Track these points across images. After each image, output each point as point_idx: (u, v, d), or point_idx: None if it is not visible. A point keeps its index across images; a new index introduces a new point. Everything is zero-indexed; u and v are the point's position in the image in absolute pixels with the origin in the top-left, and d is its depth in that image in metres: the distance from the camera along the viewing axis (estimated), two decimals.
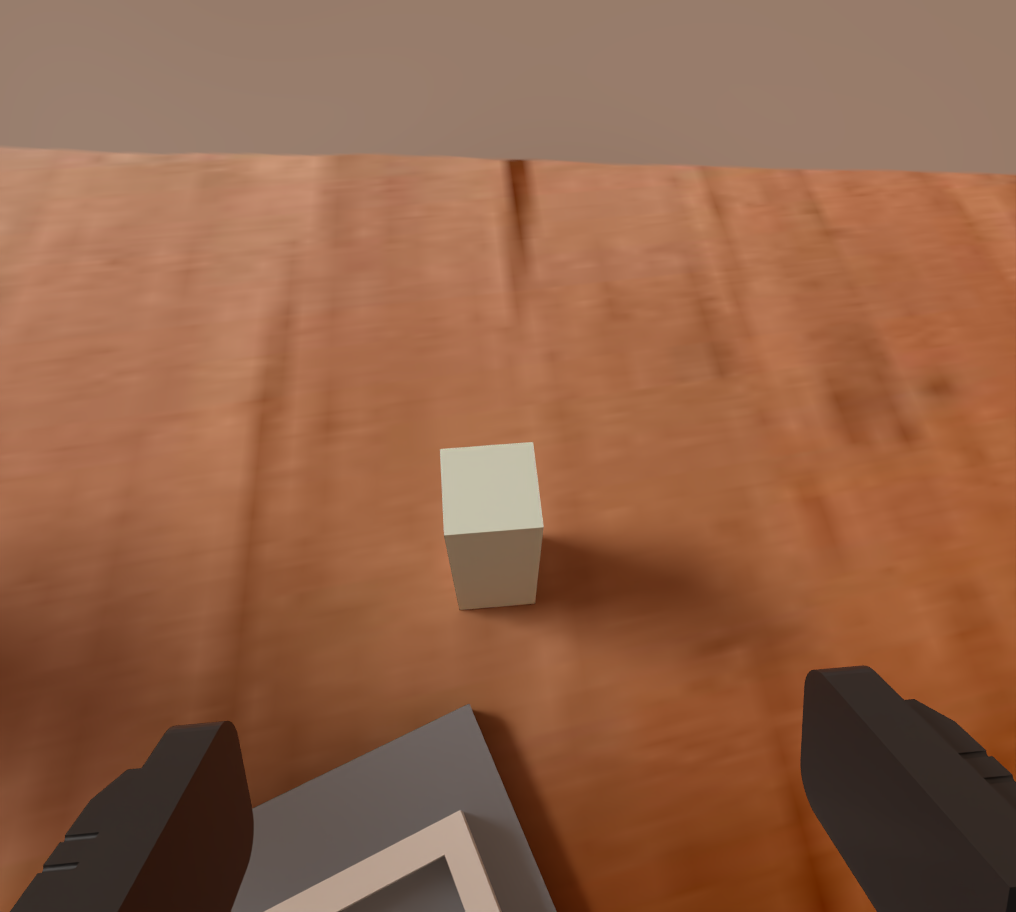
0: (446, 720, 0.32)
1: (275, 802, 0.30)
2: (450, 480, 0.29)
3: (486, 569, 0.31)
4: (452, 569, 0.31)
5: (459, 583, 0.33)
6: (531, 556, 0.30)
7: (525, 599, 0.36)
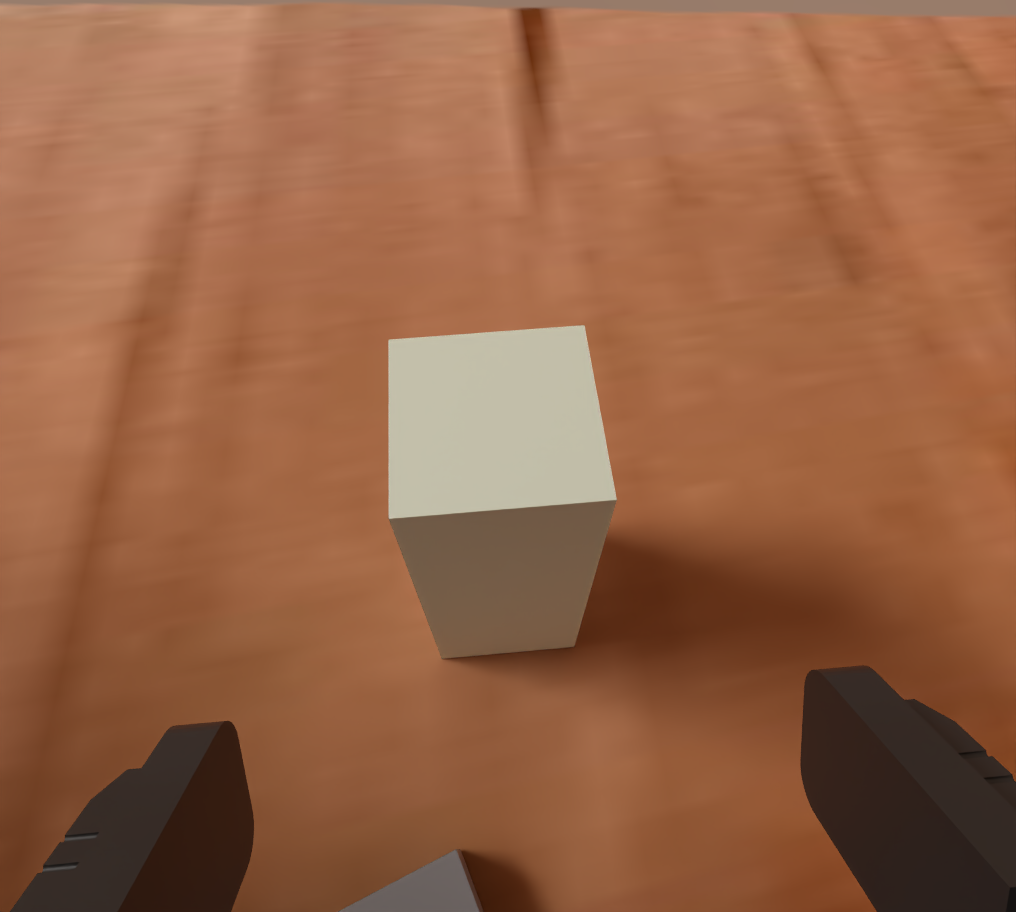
0: (412, 886, 0.16)
1: None
2: (408, 400, 0.13)
3: (487, 592, 0.16)
4: (419, 592, 0.15)
5: (437, 617, 0.17)
6: (579, 566, 0.15)
7: (558, 641, 0.20)
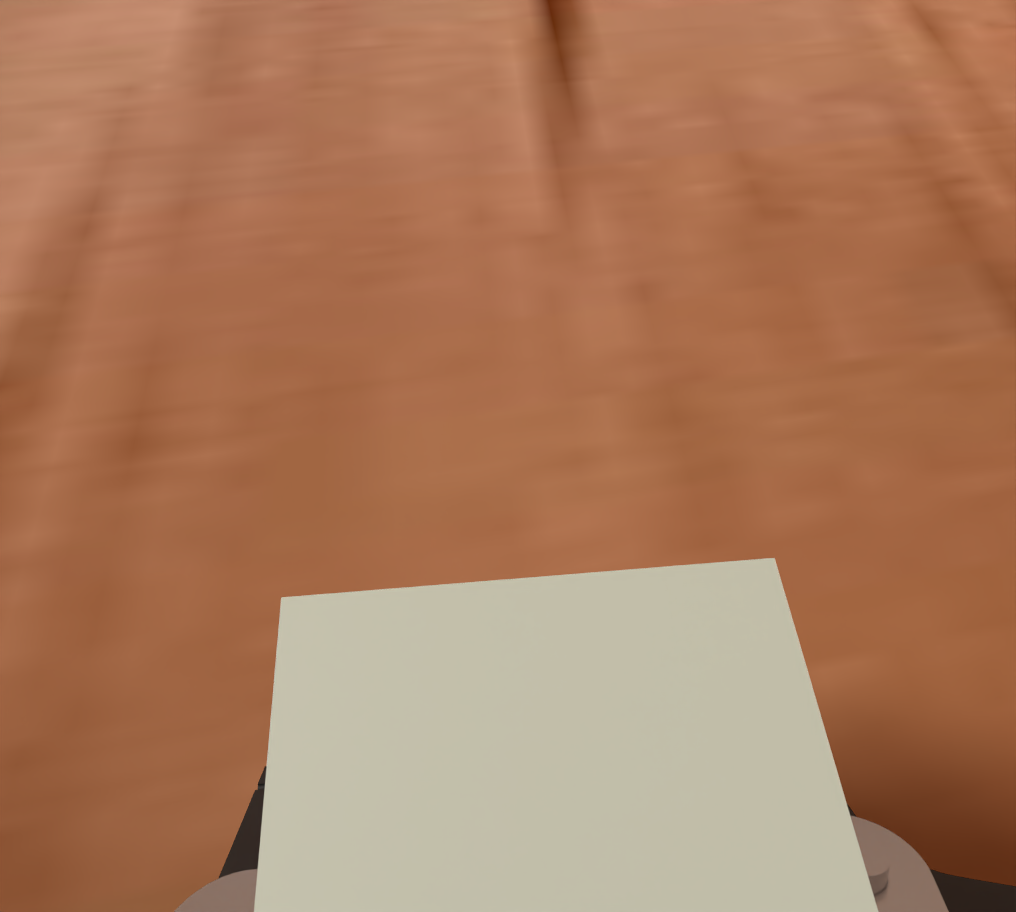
0: None
1: None
2: (317, 809, 0.05)
3: None
4: None
5: None
6: None
7: None
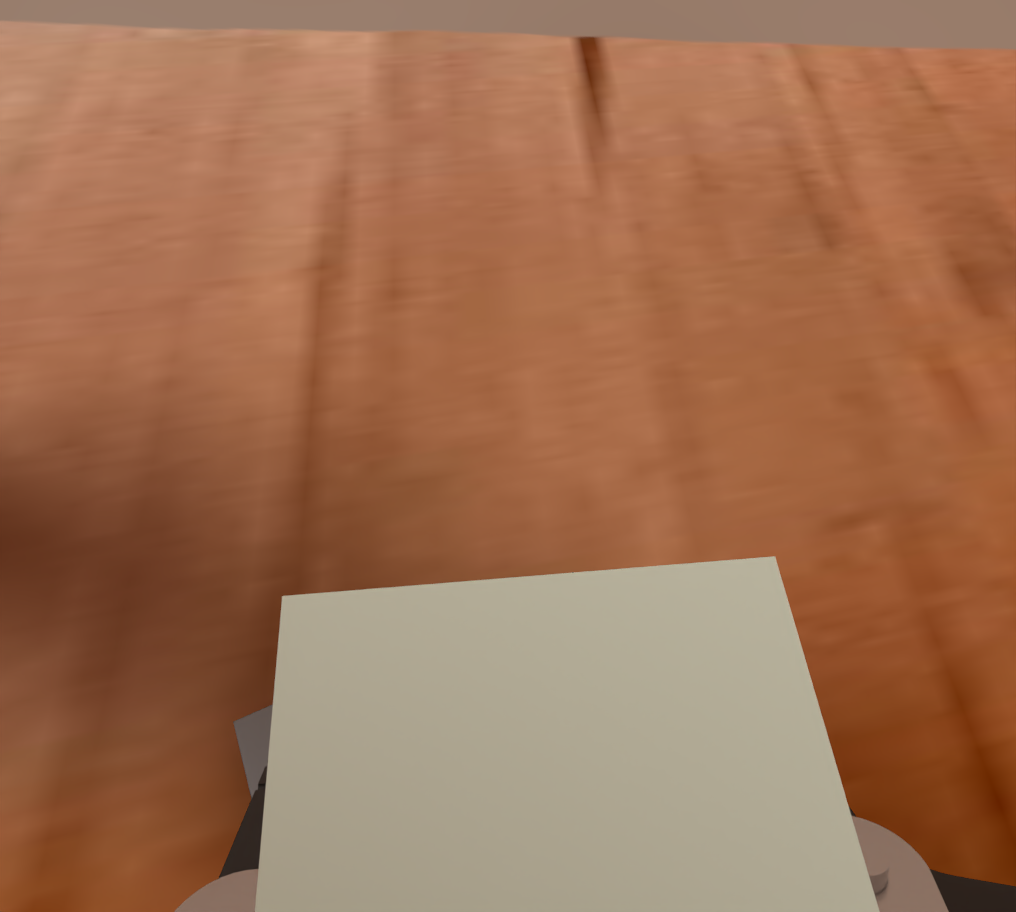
0: None
1: None
2: (317, 807, 0.05)
3: None
4: None
5: None
6: None
7: None
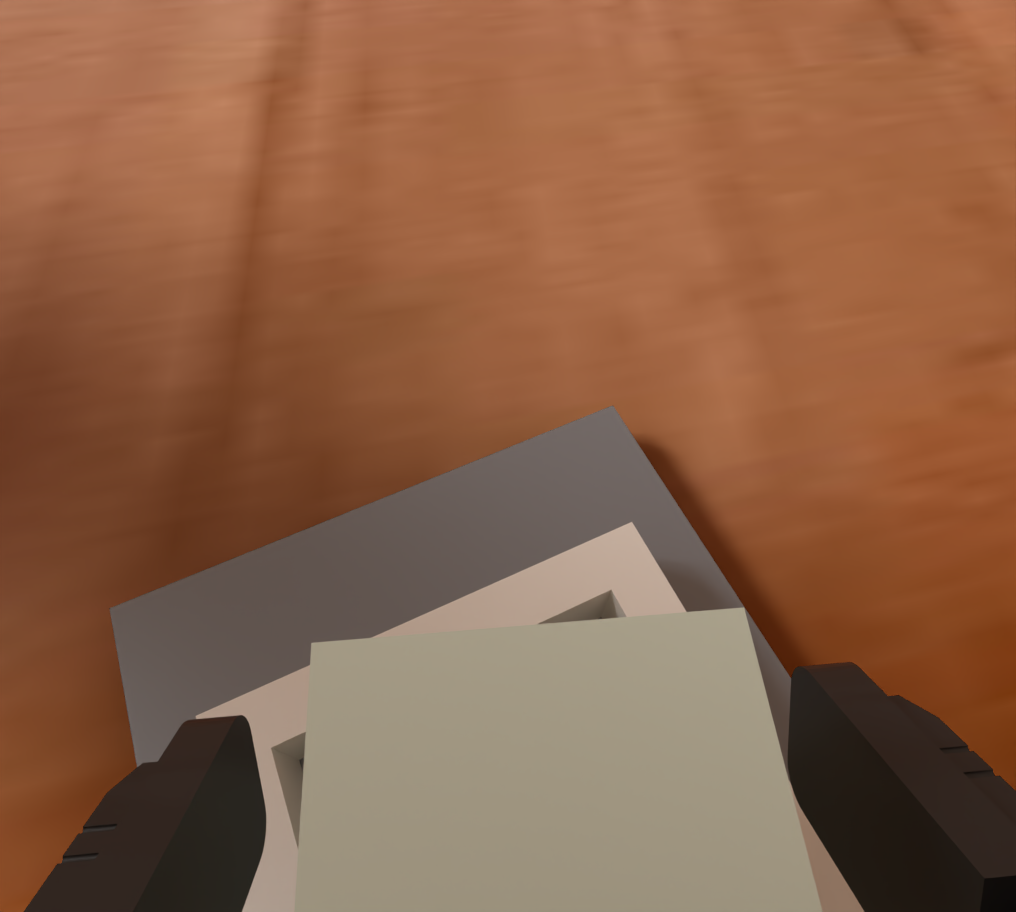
0: (578, 428, 0.19)
1: (294, 541, 0.18)
2: (345, 830, 0.06)
3: None
4: None
5: None
6: None
7: None
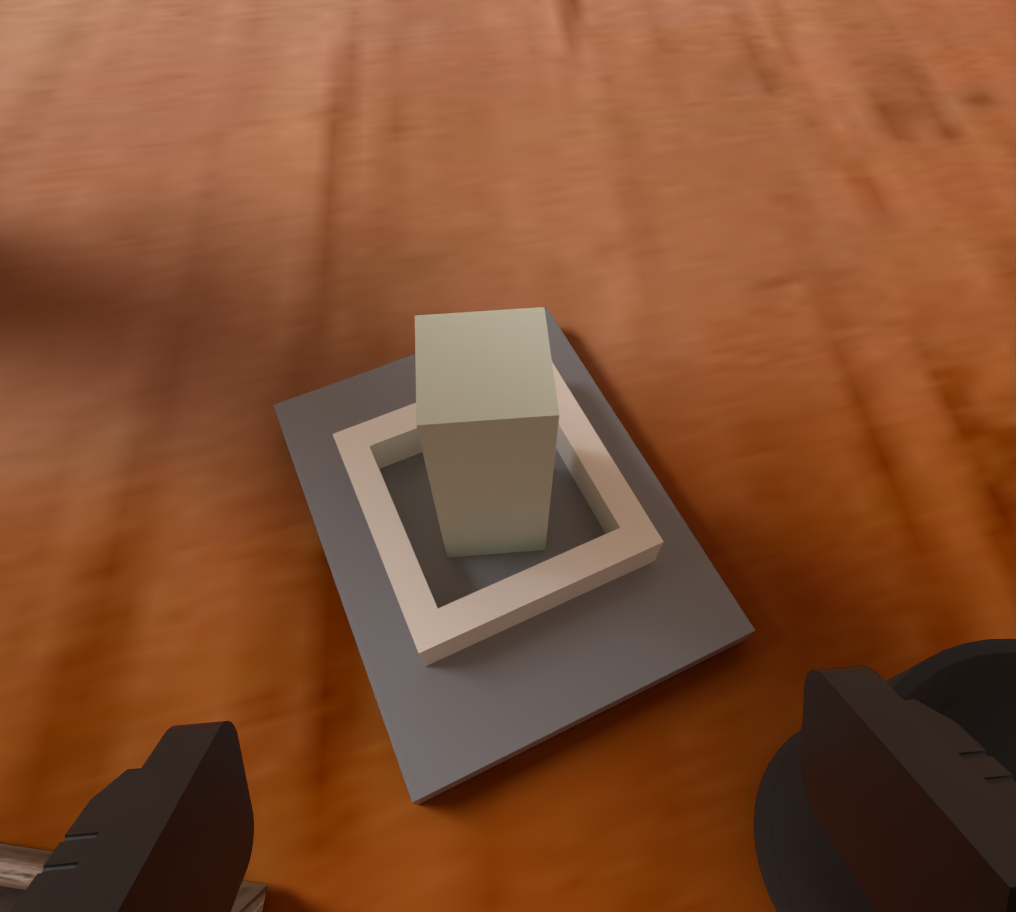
0: None
1: (369, 373, 0.32)
2: (428, 354, 0.20)
3: (479, 491, 0.23)
4: (432, 488, 0.22)
5: (444, 513, 0.24)
6: (541, 470, 0.22)
7: (532, 542, 0.27)
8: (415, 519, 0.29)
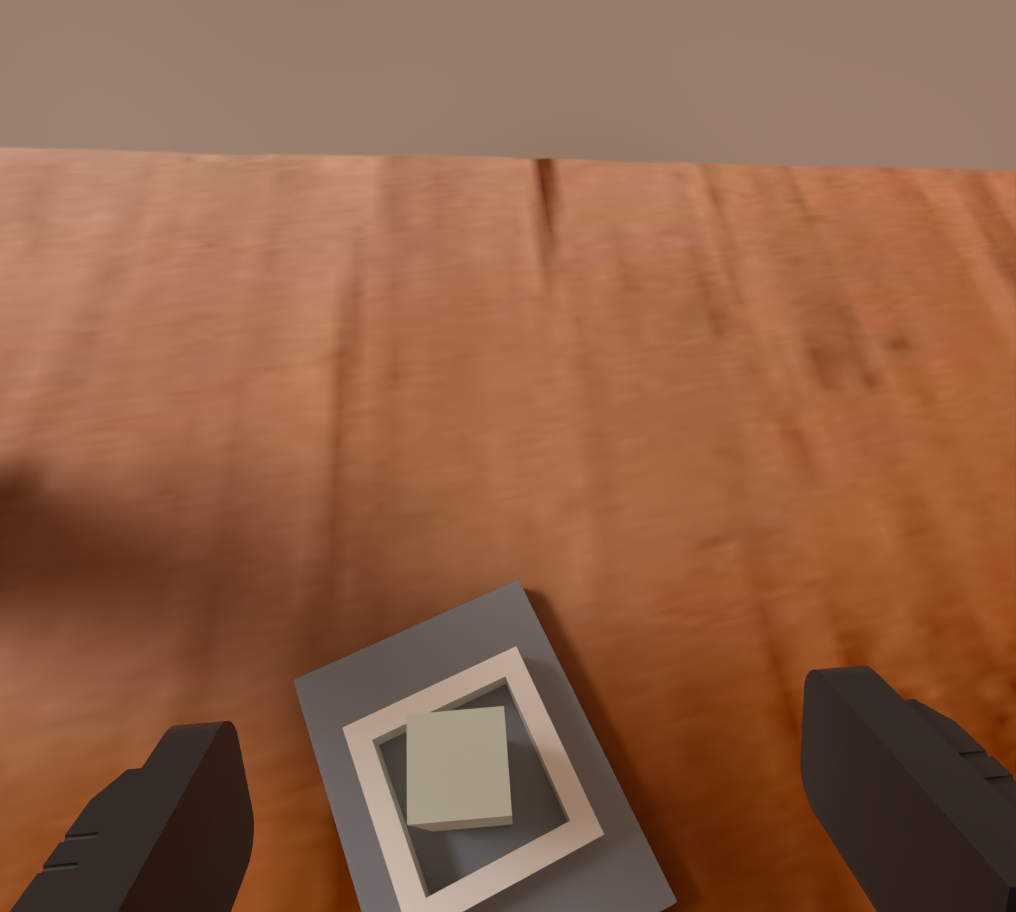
0: (501, 591, 0.41)
1: (371, 648, 0.39)
2: (416, 754, 0.27)
3: (456, 825, 0.30)
4: None
5: (430, 828, 0.31)
6: (502, 819, 0.29)
7: (502, 824, 0.34)
8: None
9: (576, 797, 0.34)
